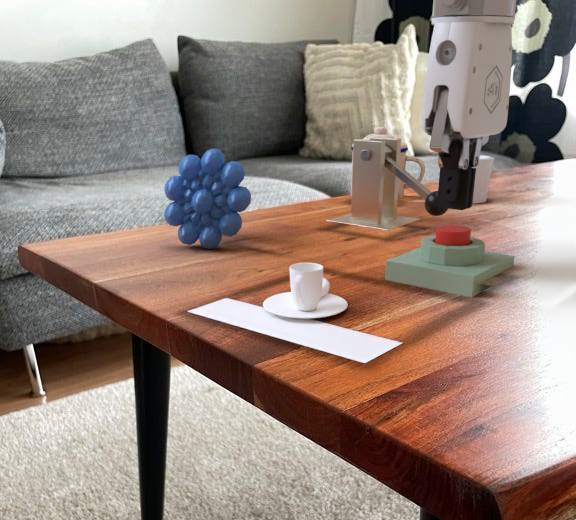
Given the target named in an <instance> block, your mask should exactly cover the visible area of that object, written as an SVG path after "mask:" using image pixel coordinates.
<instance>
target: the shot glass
mask: <svg viewBox="0 0 576 520" xmlns="http://www.w3.org/2000/svg"><path fill="white" fill-rule="evenodd" d="M494 162H495V157H494V156H491V155H485V154H480V157H479V163H478V166H477V167H476V175H475V184H474V194H473V203H472V204H481V203H482V204H484V203H486V202H487V197H488V193H489V187H490V183H491V177H492V172H493V167H494ZM472 168H474V167H472Z"/></svg>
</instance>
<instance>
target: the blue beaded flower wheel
mask: <svg viewBox="0 0 576 520" xmlns="http://www.w3.org/2000/svg"><path fill="white" fill-rule="evenodd" d="M245 173H246V171H245V168H244V165H243V164H241V162H240V161H235V160H230V161H228V162H226V156H225V154H224V153H223V151H222V150H220V149H218V148H210V149H207V150H206V151H205V152H204V154H203V155H202V156H201V158H200V157H199V156H198V155H196V154H187V155H185V156H184V157H183V158H182V159H181V160H180V162H179V164H178V174H179V175H173V176H171V177H169V179H168V180H167V181H166V182H165V184H164V189H163V190H164V194H165V197H166V198H167V199H168V200H169V201H171V202H170V203H168V204H167V206H166V207H165V209H164V213H163V216H164V219H165V222H166V223H167V224H168V225H169V226H172V227H178V229H177V237H178V240H179V241H180V242H181V243H182V244H183V245H189V246H191V245H193V244H196V242H197V241H198V242H199V244H200V246H202V247H203V248H204V249H208V250H209V249H210V250H212V249H215V248H217V247H218V245H219V244H220V243H221V242H222V240H223V239H222V238H223V236H224V237H225V236H226V237H233V236H235V235H237V234H238V233H239V232H240V230H241V229H242V227H243V218H242V216H241V214H240V213H242V212H245V211H246V210H247V209H248V207H249V206H250V204H251V202H252V194H251V193H252V192H251V191H250V189H249V188H248V187H246V186H243V185H240V184H241V183H242V182H243V180H244V179H245Z"/></svg>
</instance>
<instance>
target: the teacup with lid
mask: <svg viewBox="0 0 576 520" xmlns="http://www.w3.org/2000/svg"><path fill="white" fill-rule="evenodd" d="M387 131H388V129H387V127H385V126H375V127H374V128H373V133H370V134H368V135H366V136H365V137H364V138H362V140H370V137H383V138H396V137H395V136H394V135H392V134H389V133H387ZM350 150H351V151H352V152H351V153H352V155H351V171H352V170H353V143H352V145H351V147H350ZM407 151H409V147H408V144H407V143H406V142H404V141H401V152H400V166H401V167H402V168H403V169H404V170H406V165H407V162H415V163H417V164H418V165H419V167H420V173H419V176H418V178H416V180H418V181H419V182H420V183H421V182H422V181H423V179H424V177H425V173H426V165H425V163H424V161H423V160H422V159H421V158H419V157H417V156H412V155H411V156H409V155H407ZM350 182H351V183H350V196H351V197H352V178H351V181H350ZM406 189H407V190H409V189H411V188H410V187H409V186H407V185H406V184H405V183H404V182H403V181H401V180H400V179H399V186H398V199H401V198H403V197H405V196H404V195H405V190H406Z"/></svg>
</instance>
